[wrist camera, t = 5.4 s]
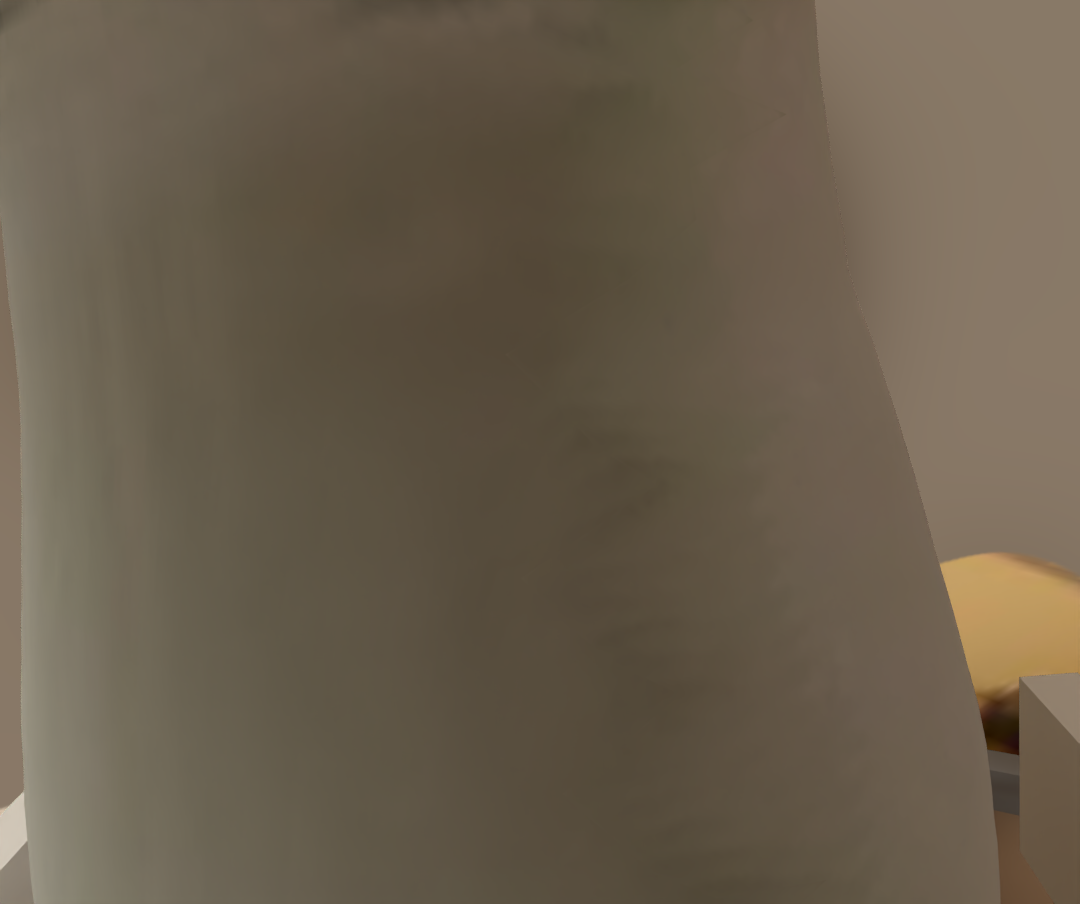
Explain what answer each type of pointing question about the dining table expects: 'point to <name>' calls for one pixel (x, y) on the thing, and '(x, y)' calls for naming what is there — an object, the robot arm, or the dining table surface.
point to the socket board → (1011, 834)
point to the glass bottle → (463, 467)
